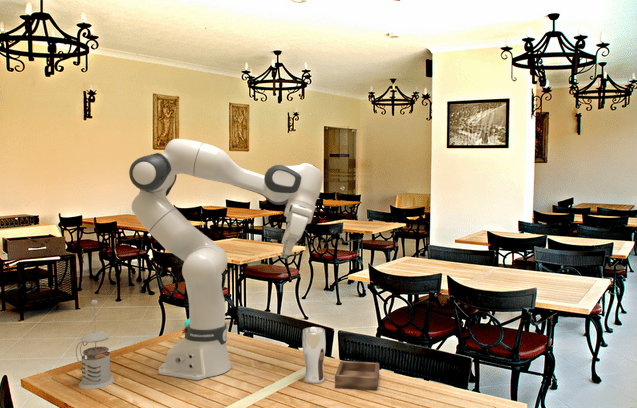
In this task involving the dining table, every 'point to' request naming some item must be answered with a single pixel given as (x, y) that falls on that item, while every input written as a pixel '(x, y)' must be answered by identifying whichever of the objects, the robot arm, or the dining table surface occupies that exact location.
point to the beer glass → (314, 353)
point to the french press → (95, 360)
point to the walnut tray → (357, 375)
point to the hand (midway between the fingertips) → (285, 256)
